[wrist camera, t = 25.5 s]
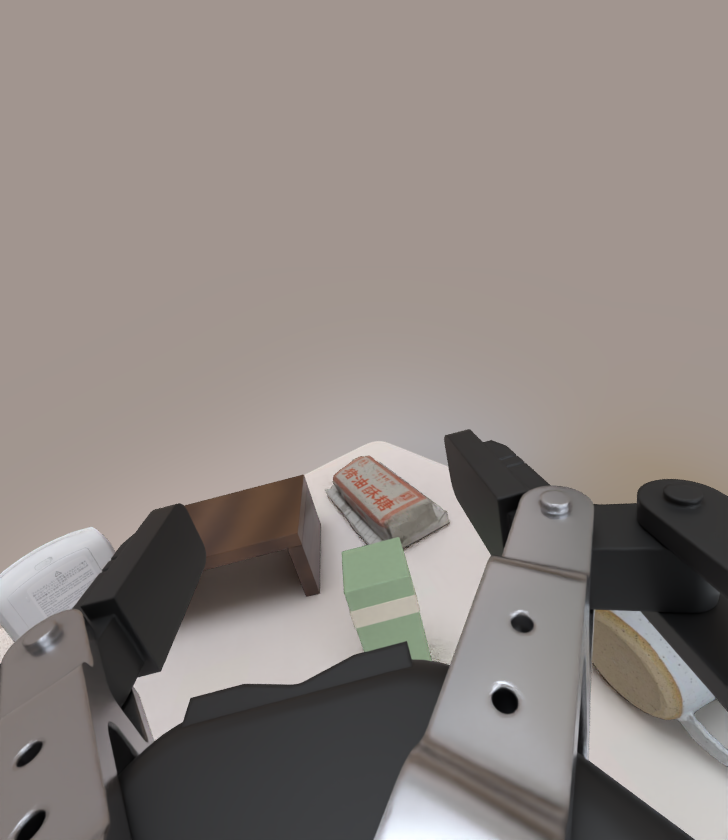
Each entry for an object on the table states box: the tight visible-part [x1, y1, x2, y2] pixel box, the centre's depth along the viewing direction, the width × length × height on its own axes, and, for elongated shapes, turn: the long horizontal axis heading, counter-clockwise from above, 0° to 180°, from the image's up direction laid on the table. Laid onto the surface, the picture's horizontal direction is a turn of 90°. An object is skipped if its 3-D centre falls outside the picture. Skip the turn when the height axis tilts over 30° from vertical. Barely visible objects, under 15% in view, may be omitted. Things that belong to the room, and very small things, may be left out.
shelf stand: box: [185, 475, 321, 597], centre depth 43 cm, size 18×12×8 cm, turn 96°
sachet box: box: [342, 537, 432, 661], centre depth 28 cm, size 5×4×11 cm
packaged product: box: [325, 456, 449, 548], centre depth 50 cm, size 18×5×10 cm
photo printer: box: [0, 527, 115, 642], centre depth 39 cm, size 10×4×12 cm, turn 145°
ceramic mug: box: [592, 610, 728, 767], centre depth 23 cm, size 11×8×8 cm
